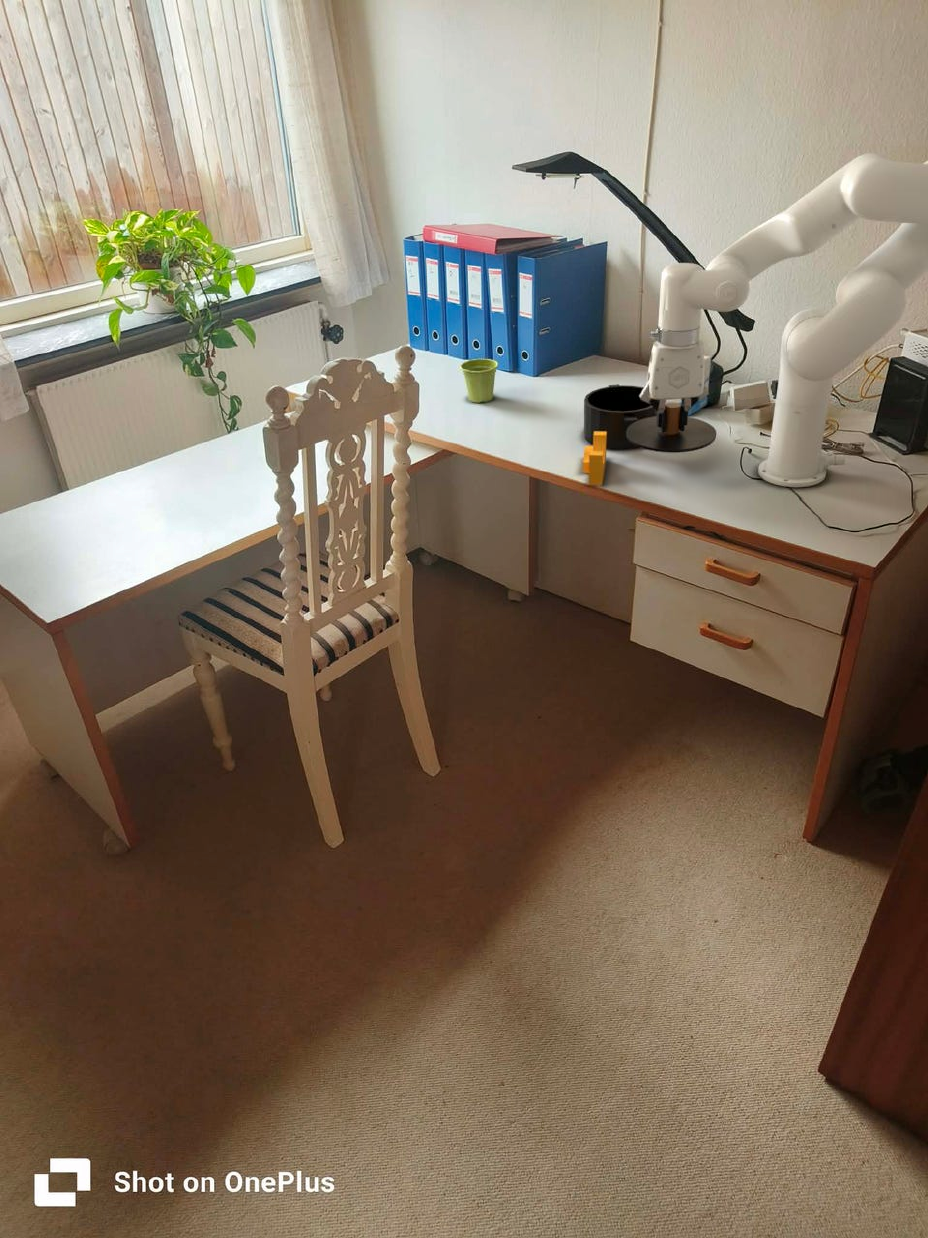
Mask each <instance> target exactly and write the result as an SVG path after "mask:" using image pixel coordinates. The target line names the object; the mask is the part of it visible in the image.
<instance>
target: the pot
mask: <svg viewBox="0 0 928 1238" xmlns="http://www.w3.org/2000/svg"><path fill="white" fill-rule="evenodd" d="M644 387H645V386H638V385H626V384H625V385H624V384H623V385H620V384H609V385H608V386H604V387H601V388H600V387H599V388H597V389H595V390H594V389H593V390H591V391H590V392H588V393H587V394H586V395H585V396H584V399H583V437H584V439H585V441H586V442H587V443H588V444H590V445H591V446H593V434H594V431H603V432H607V439H606V450H611V451H631V450H637V449H642V448H641V447H638V446H636V445H634V444H633V443H631V442H630V441H629V440H628V439H627V436H626V431H627V428H628V427H629V426H630V425H631V424H633V423H634V422H636V421H639V420H641V419H645V418H649V417H655V416H657V410H656V409H655V408H654V407H653V406H652V405H651V404H649V403H646V402H644V401H642V400H641V399H640V397H639V395H640V394H641V392H642V390H643V388H644ZM649 395H650V394H649ZM650 396H651V395H650Z"/></svg>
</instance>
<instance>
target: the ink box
mask: <svg viewBox="0 0 928 1238" xmlns="http://www.w3.org/2000/svg"><path fill="white" fill-rule="evenodd" d="M711 361H712V356H709V355H704V384H705V386H706V388H707V390H708V391H709V386H710V375H711V374H710V373H711ZM672 402H674V403H679V404H680V405H681V398H680V399H666V404H667V403H672ZM666 404H665V405H666ZM707 405H708V397H707V396H706V397H704V398H702V399H701V400H698V402H697V403H696V404H694V405H693V406H692V407H691V410H690V411H688V416H692V414H694V413H696V412H698V411H699V410H701V409H702V408H704V407H706V406H707Z"/></svg>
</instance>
